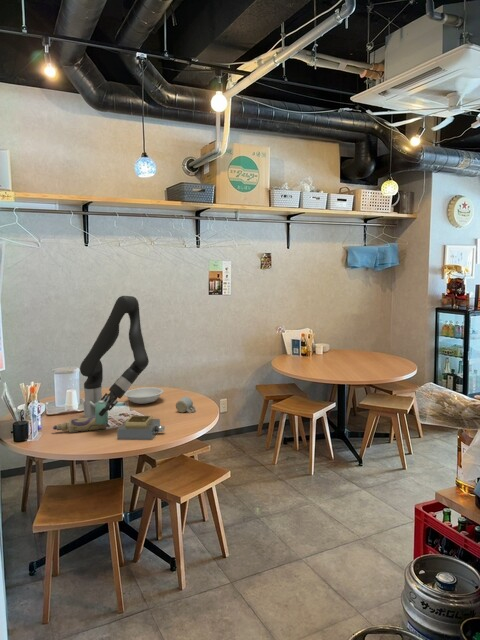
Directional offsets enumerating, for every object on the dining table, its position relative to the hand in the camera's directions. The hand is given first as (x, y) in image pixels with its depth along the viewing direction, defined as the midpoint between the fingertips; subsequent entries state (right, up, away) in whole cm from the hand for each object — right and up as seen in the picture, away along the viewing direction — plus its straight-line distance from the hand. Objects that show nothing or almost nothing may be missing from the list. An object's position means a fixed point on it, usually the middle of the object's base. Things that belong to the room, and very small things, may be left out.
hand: (98, 413), depth 233 cm
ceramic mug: (+40, -6, +36) cm, 54 cm away
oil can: (0, -5, +1) cm, 5 cm away
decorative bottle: (-10, -10, +7) cm, 16 cm away
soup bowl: (+12, -4, +56) cm, 57 cm away
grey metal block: (+23, -10, -1) cm, 25 cm away
